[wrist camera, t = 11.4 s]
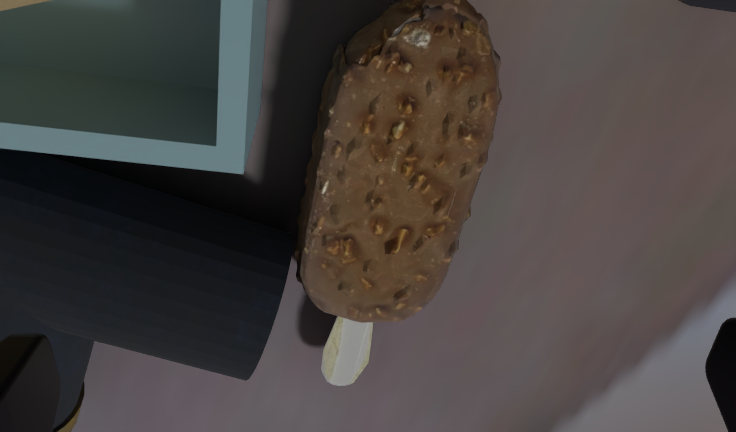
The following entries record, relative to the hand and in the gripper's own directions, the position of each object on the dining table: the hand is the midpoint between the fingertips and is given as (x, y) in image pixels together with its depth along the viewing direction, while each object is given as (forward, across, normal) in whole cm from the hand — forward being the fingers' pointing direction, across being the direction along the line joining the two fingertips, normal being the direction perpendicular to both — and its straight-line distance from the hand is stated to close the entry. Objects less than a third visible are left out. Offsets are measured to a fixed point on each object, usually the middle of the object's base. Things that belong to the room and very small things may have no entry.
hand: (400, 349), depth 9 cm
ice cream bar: (+13, -1, +5) cm, 15 cm away
